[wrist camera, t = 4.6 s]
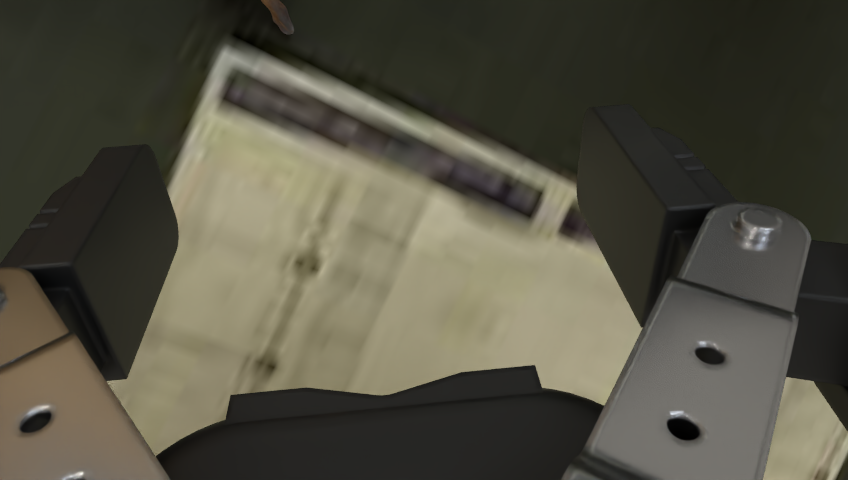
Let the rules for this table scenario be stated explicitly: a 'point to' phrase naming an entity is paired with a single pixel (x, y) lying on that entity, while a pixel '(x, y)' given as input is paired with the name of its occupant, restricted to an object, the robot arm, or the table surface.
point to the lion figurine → (280, 15)
